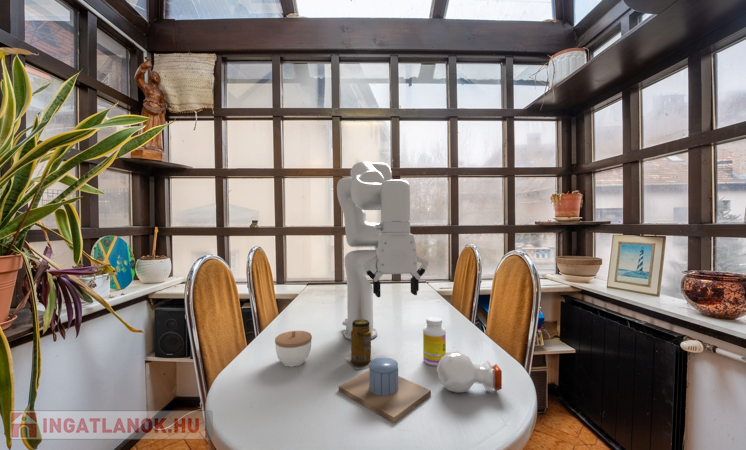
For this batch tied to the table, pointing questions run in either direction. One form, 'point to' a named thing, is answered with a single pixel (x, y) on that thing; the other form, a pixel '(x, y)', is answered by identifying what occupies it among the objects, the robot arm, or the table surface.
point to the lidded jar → (293, 347)
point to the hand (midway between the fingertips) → (396, 295)
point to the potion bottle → (467, 373)
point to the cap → (383, 376)
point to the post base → (386, 405)
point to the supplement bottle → (434, 341)
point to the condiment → (360, 344)
